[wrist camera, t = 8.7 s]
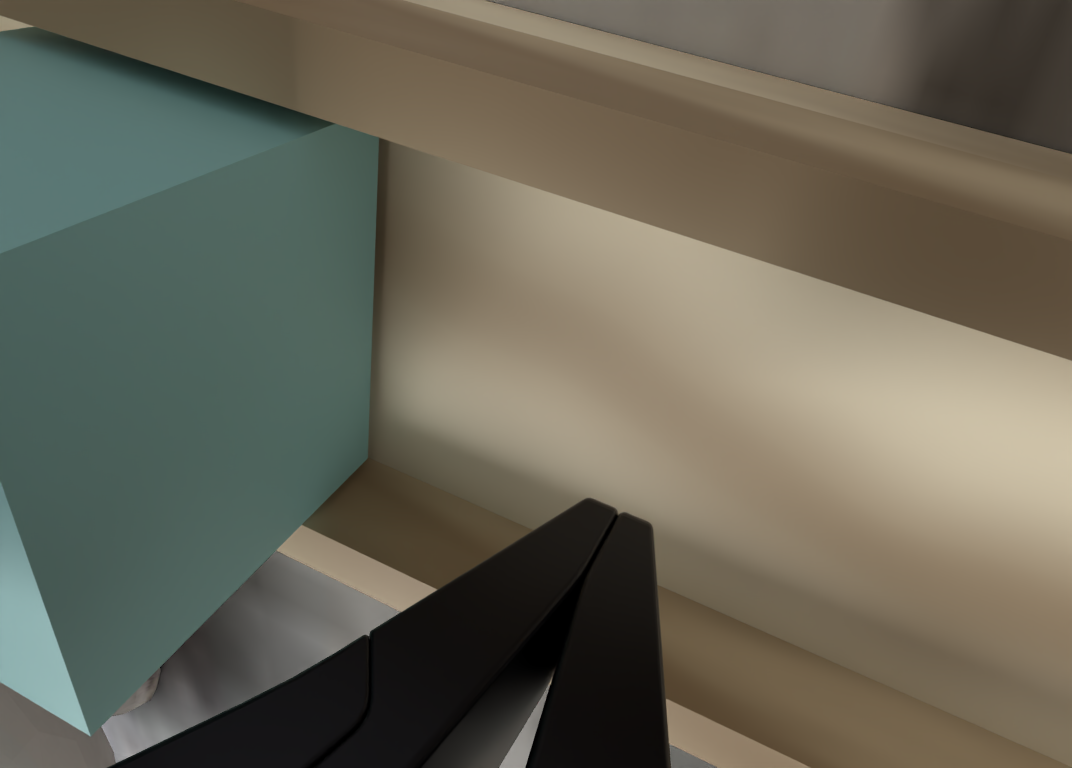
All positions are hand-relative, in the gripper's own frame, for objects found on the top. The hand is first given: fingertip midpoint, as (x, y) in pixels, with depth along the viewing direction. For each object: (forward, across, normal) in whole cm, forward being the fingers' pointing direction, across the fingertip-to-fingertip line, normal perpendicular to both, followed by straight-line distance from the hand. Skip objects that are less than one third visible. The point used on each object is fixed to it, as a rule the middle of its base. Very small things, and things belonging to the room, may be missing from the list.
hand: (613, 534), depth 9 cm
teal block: (+2, +7, 0) cm, 8 cm away
